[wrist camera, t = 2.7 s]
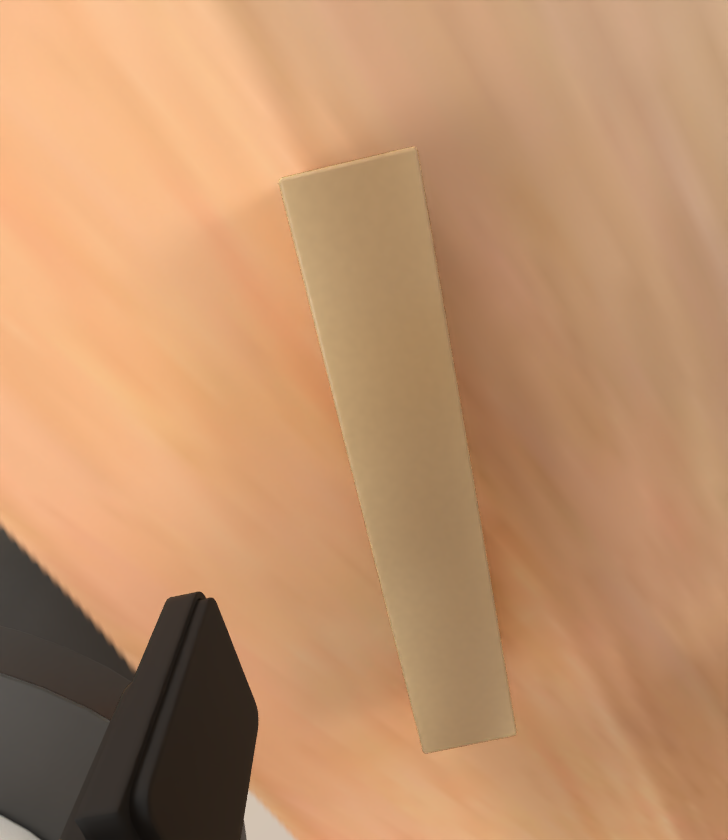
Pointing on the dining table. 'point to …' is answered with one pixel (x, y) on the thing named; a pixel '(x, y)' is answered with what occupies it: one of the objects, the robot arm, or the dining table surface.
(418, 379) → the stick
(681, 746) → the dining table surface
